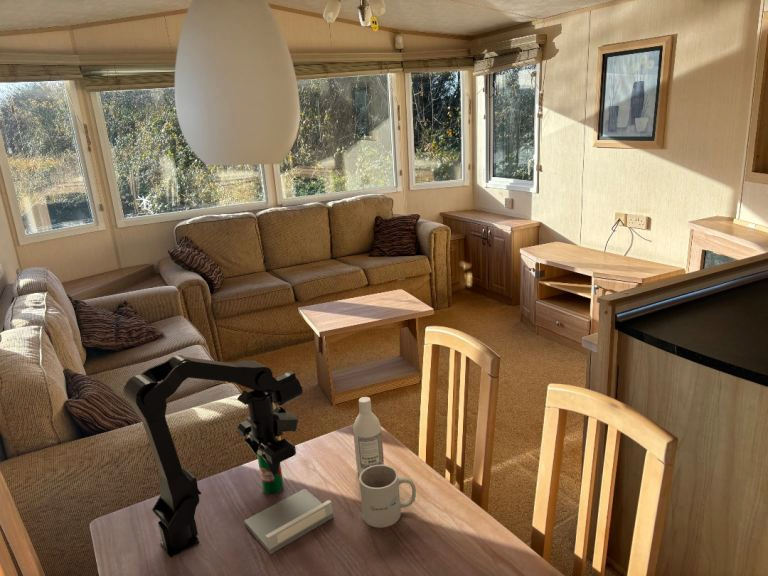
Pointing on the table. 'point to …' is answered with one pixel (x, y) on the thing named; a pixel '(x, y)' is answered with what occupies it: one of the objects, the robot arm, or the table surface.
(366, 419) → the bath foam
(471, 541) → the table surface
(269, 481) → the soda can
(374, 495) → the mug
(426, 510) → the table surface
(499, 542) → the table surface
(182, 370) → the robot arm
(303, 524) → the shelf
